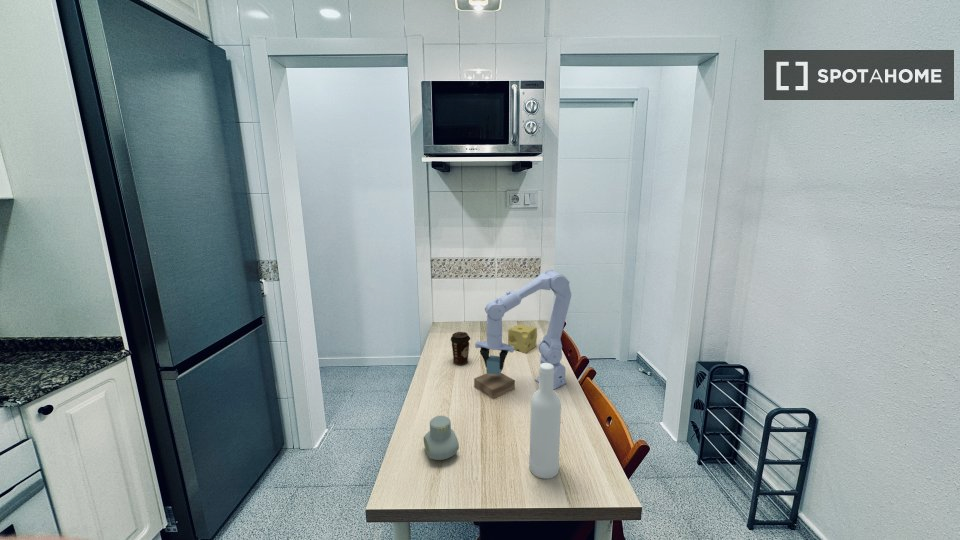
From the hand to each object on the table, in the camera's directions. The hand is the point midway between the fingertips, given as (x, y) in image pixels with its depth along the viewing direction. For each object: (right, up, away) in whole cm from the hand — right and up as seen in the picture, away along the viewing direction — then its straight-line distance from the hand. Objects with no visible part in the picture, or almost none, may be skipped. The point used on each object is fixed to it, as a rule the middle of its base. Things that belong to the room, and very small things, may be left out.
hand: (494, 367), depth 137 cm
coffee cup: (-14, -4, +23) cm, 27 cm away
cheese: (+15, -1, +38) cm, 41 cm away
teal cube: (0, -2, +1) cm, 2 cm away
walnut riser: (0, -9, +2) cm, 9 cm away
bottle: (+12, -17, -40) cm, 44 cm away
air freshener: (-17, -16, -33) cm, 40 cm away
